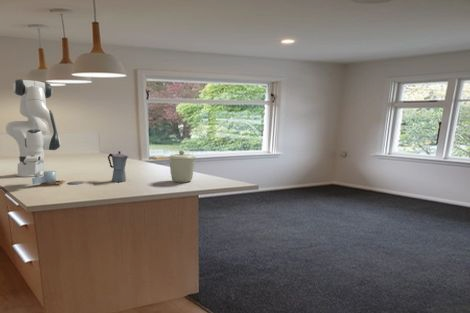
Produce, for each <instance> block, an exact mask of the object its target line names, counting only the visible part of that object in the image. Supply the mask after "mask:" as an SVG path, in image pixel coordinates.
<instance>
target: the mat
mask: <svg viewBox="0 0 470 313" xmlns="http://www.w3.org/2000/svg"><path fill="white" fill-rule="evenodd" d="M66 184H67V185H69V186H70V185H71V186H77V185H83V184H85V181H82V180H81V181H80V180H79V181H78V180H77V181H70V182H67V183H66Z"/></svg>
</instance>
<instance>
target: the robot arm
mask: <svg viewBox="0 0 470 313" xmlns="http://www.w3.org/2000/svg"><path fill="white" fill-rule="evenodd" d="M52 87H53V86H52V85H51V84H50V83H48V82H43V81H38V80H29V79H16V80H15V81H14V82H13V84H12V89H13V91H14V94H16V96H20V102H19V103H20V104H19V113H20V115H22V116H23V117H25V118H27V120H14V121H9V122H7V124H6V126H5V131H6V132H5V133H6V134H7V135H8V136H9V137H11V138H12V139H14V140H15V142H16V143H17V145H18V148H19V149H18V150H19V157H18V159H19V163H17V173H15V176H16V177H21V178H25V177H27V178H28V177H29V178H30V177H33V178H36V177H41V176H44V172H45V171H46V170H45V161H44V160H45V151H56V150H58V149H59V148H60V147H61V138H60V136H59V134H58V130H57V126H56V122H55V118H54V114H53V112H52V110H50V109H49V108H48V107H47V101H46V99H49V98H51V97H52V95H53V88H52ZM44 121H46V122H47V123H46V122H44ZM48 129H49V132H50V133H49V134H47V132H48Z"/></svg>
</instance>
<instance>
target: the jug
mask: <svg viewBox="0 0 470 313" xmlns="http://www.w3.org/2000/svg"><path fill="white" fill-rule="evenodd" d="M31 180H32V185H37V184H38V185H39V184H41V183H44V184H56V181H57V175H56V170H45V172H44V175H41V176H40V177H36V178H35V177H32V178H31Z"/></svg>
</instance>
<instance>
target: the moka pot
mask: <svg viewBox="0 0 470 313" xmlns="http://www.w3.org/2000/svg"><path fill="white" fill-rule="evenodd" d="M121 152H122V151H118V152H117V153H115V154H114V153H108V154H109V155H108V156H107V160H108V163H109V167H110V168H112V169H113V170H112V179H111V181H112V182H114V183H123V182H126V181H127V174H126V164H127V161H128V160H127V159H129V156H128V155H127V154H123V153H121Z"/></svg>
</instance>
